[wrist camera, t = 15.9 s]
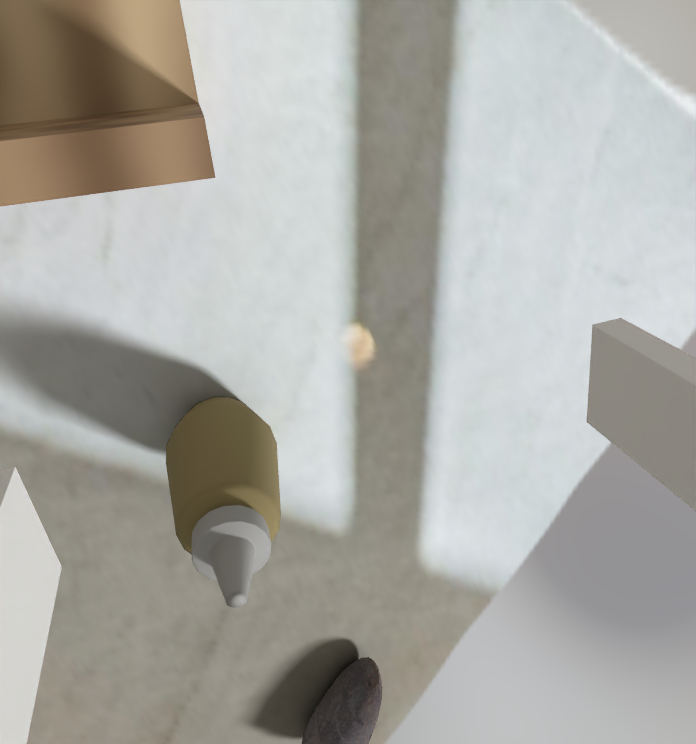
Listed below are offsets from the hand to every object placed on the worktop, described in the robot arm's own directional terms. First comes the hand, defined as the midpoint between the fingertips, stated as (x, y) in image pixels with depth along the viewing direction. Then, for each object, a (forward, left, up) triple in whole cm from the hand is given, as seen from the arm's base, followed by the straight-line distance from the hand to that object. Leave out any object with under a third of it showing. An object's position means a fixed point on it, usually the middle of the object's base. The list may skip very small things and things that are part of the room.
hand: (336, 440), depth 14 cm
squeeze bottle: (-4, -18, -32) cm, 37 cm away
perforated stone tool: (+2, -53, -32) cm, 62 cm away
